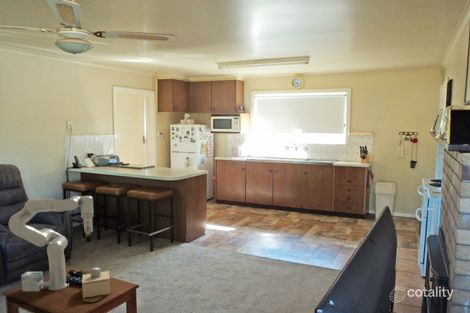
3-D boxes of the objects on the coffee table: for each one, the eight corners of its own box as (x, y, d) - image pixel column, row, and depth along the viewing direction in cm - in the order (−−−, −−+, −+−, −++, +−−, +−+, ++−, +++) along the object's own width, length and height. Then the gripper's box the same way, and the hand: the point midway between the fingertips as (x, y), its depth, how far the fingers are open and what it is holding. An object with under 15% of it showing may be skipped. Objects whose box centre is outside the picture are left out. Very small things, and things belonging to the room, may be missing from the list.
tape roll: (90, 279, 227) (90, 271, 226) (90, 275, 232) (90, 268, 232) (101, 277, 229) (100, 269, 229) (100, 274, 234) (100, 266, 234)
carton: (82, 298, 222) (82, 284, 221) (83, 289, 235) (82, 275, 234) (110, 293, 228) (109, 280, 227) (109, 284, 241) (108, 271, 240)
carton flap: (82, 283, 221) (82, 282, 221) (82, 275, 234) (82, 274, 234) (109, 279, 227) (109, 278, 227) (108, 271, 240) (108, 270, 240)
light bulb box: (43, 287, 239) (43, 271, 238) (37, 291, 232) (36, 275, 231) (28, 286, 240) (27, 271, 239) (21, 291, 233) (20, 275, 232)
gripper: (93, 217, 232) (94, 243, 234) (93, 211, 248) (94, 235, 250) (80, 218, 230) (82, 244, 231) (81, 212, 246) (82, 236, 247)
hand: (88, 239), depth 240 cm, fingers open, 9 cm apart
